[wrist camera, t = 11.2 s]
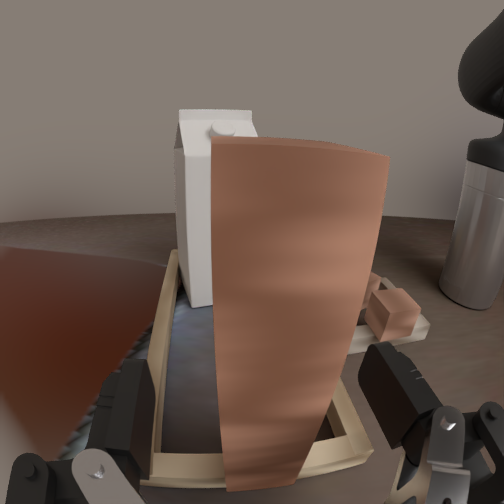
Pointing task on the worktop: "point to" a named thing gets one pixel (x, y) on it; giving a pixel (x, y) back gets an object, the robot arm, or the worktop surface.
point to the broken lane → (369, 337)
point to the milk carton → (199, 192)
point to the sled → (278, 310)
